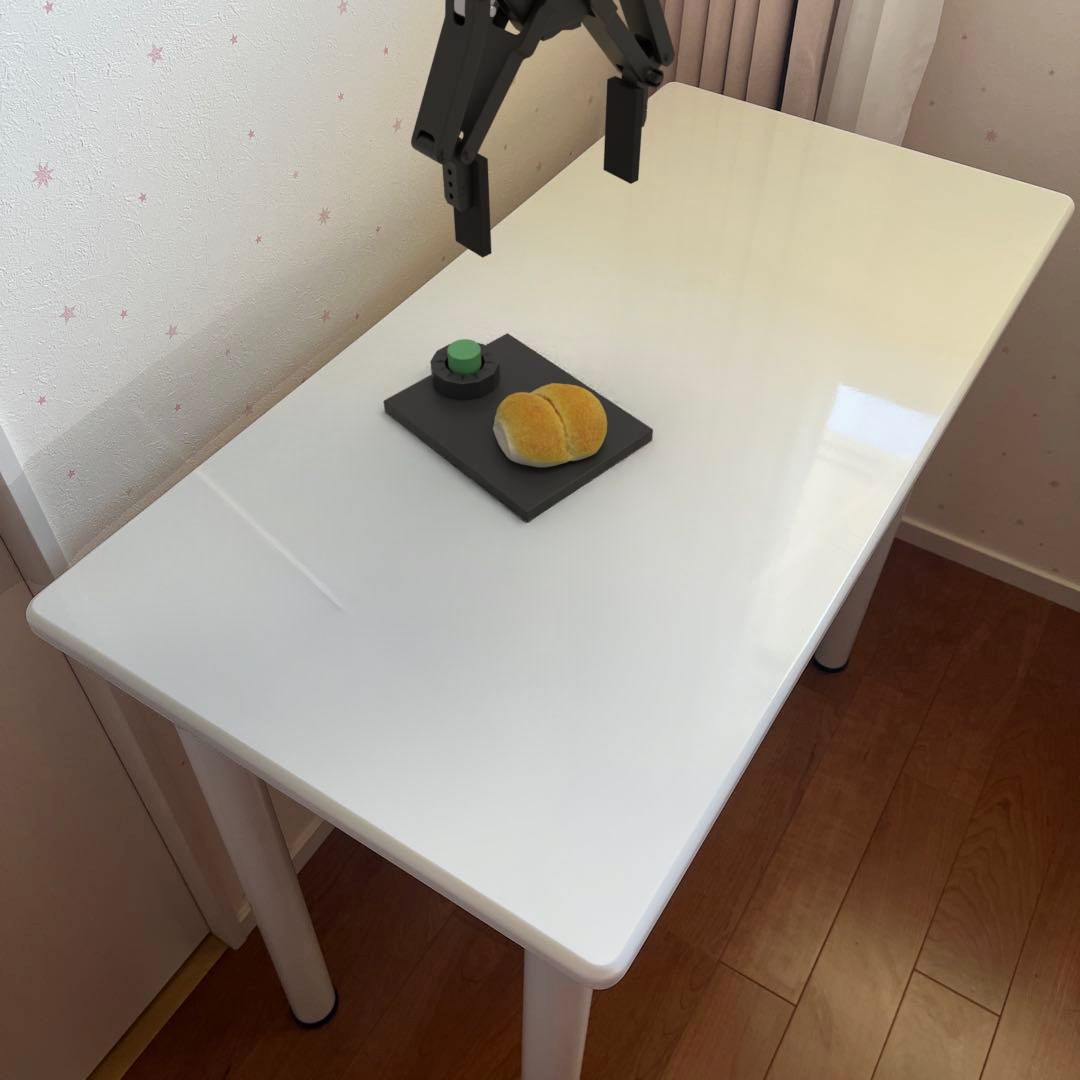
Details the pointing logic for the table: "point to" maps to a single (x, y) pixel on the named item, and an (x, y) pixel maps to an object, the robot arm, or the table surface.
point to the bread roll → (550, 425)
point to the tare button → (464, 356)
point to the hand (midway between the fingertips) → (550, 210)
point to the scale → (469, 414)
